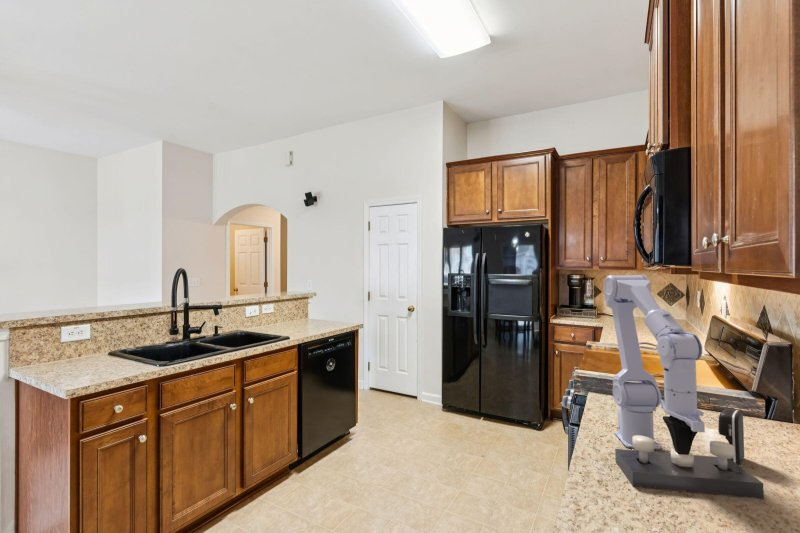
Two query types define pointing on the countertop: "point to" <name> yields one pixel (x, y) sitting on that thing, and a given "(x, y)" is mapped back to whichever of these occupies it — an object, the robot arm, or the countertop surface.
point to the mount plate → (688, 475)
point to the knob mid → (682, 459)
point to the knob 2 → (722, 453)
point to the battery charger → (733, 431)
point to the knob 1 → (643, 447)
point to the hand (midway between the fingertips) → (682, 453)
